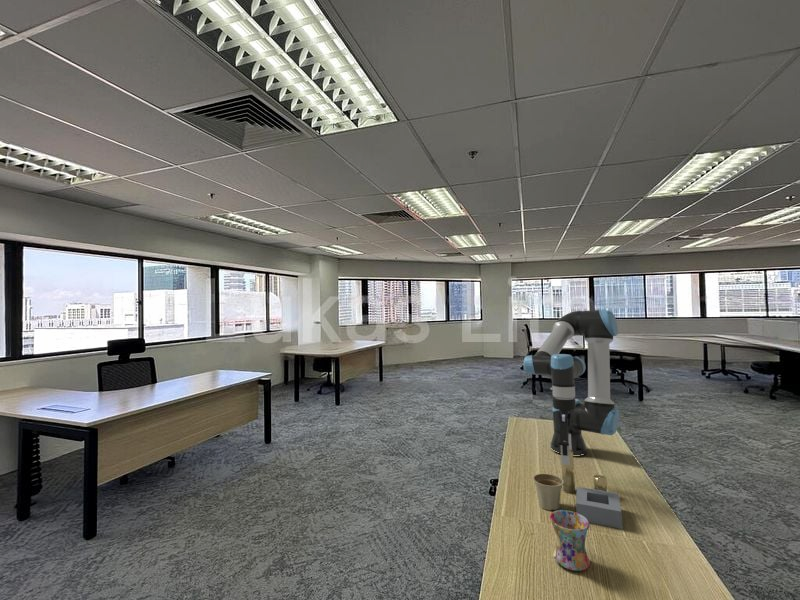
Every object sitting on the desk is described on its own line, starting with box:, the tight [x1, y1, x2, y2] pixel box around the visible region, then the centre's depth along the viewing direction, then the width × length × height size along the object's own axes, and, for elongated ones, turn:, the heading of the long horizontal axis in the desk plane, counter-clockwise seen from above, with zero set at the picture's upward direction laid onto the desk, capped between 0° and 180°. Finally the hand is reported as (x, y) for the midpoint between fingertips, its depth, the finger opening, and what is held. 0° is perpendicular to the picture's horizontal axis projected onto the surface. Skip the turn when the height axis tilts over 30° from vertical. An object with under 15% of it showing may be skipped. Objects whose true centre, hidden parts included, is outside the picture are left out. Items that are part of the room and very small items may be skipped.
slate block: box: [575, 486, 623, 530], centre depth 114 cm, size 12×12×5 cm
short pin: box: [592, 474, 608, 491], centre depth 126 cm, size 4×4×6 cm
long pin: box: [561, 450, 576, 494], centre depth 130 cm, size 4×4×14 cm
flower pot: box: [532, 473, 564, 511], centre depth 120 cm, size 9×9×9 cm
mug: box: [549, 509, 591, 572], centre depth 94 cm, size 12×9×11 cm
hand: (566, 457), depth 130 cm, fingers open, 13 cm apart
